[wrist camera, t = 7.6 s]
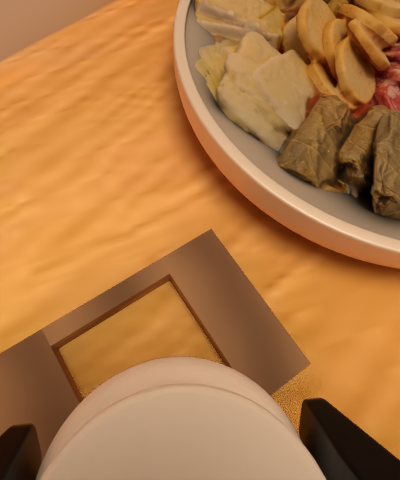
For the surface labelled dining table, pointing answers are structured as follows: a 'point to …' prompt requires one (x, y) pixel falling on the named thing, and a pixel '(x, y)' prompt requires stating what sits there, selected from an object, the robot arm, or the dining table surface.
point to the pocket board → (128, 291)
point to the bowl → (301, 112)
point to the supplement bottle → (178, 429)
